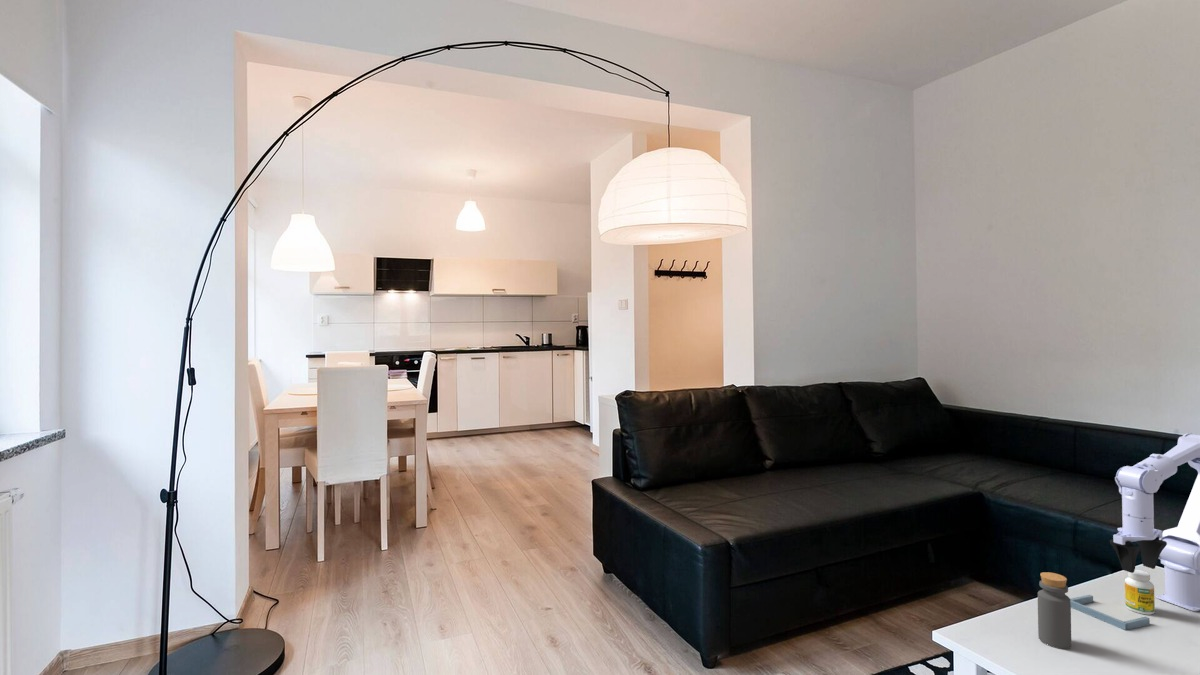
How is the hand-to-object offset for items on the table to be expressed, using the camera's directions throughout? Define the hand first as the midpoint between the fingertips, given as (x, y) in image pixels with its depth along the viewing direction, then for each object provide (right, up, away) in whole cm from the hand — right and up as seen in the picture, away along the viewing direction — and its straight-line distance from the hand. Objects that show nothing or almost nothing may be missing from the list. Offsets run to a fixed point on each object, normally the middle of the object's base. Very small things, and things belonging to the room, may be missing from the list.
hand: (1138, 569), depth 140 cm
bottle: (-32, -11, -13) cm, 37 cm away
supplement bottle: (0, -11, 0) cm, 11 cm away
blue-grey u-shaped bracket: (-10, -11, -2) cm, 14 cm away
